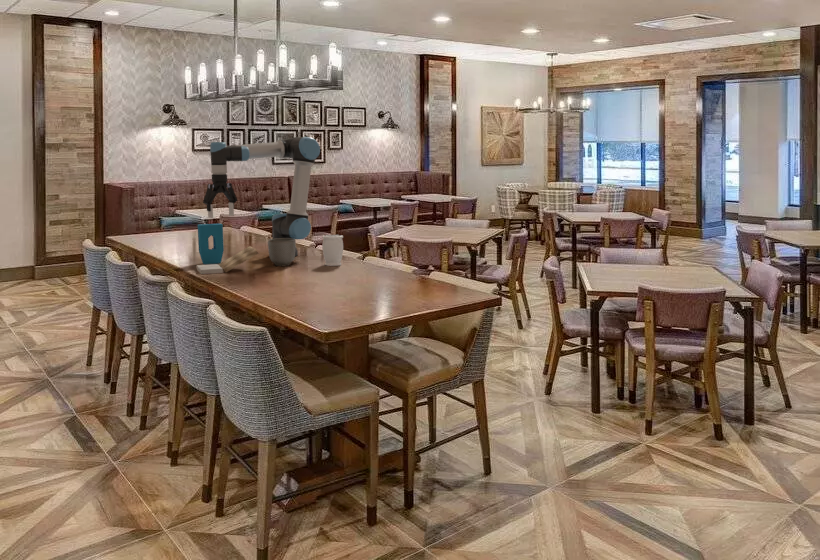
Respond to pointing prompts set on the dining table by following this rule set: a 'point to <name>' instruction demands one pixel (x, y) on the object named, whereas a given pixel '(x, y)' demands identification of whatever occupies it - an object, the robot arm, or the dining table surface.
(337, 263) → the jar
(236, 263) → the plank
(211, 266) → the floor board
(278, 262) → the planter
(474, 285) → the dining table surface
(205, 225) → the block
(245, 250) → the plank
